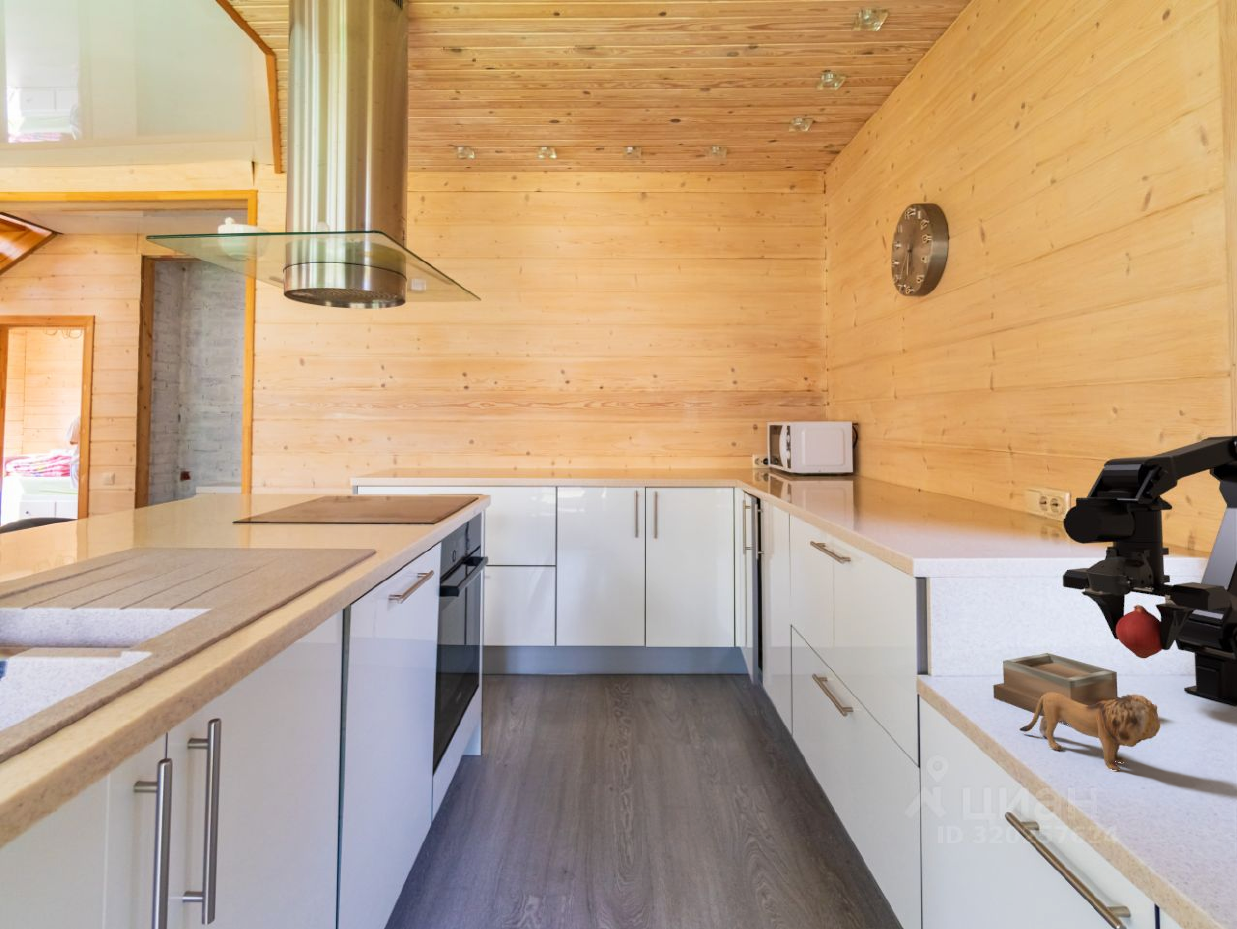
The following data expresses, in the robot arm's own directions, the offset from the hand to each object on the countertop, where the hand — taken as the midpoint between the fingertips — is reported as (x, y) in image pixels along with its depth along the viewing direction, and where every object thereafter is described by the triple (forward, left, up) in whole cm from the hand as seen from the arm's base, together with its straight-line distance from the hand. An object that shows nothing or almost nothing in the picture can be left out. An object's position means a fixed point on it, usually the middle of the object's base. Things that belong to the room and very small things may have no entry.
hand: (1141, 644), depth 88 cm
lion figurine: (+23, +7, -10) cm, 26 cm away
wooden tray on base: (+11, -5, -9) cm, 15 cm away
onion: (0, 0, -2) cm, 2 cm away
